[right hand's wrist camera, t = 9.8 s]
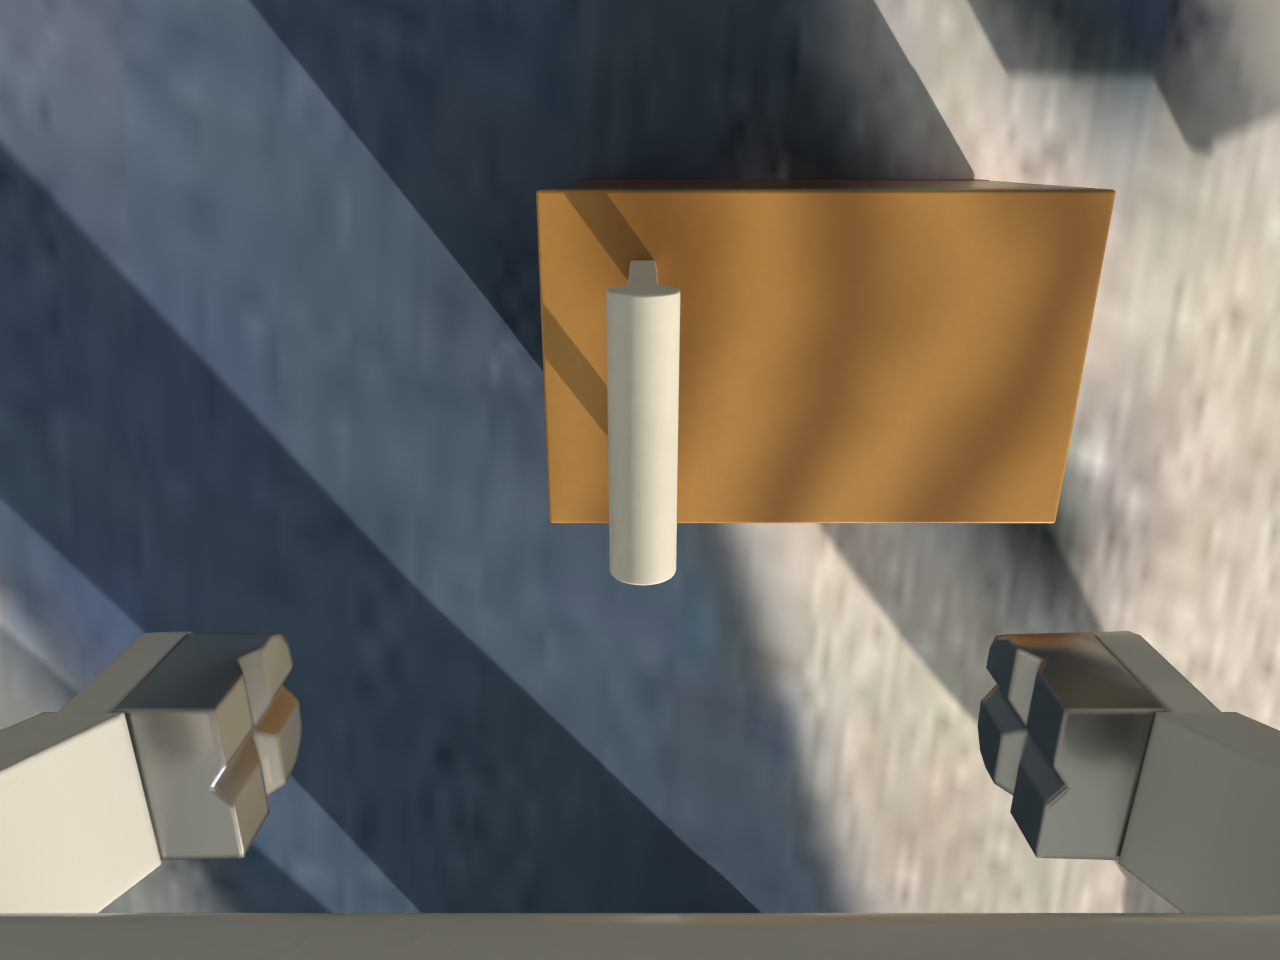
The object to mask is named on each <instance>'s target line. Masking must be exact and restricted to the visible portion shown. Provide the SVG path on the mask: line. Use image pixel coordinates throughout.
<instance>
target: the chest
mask: <svg viewBox="0 0 1280 960" xmlns="http://www.w3.org/2000/svg"><path fill="white" fill-rule="evenodd" d="M563 189H1095V188H1082V187H1068V186H1055V185H1041V184H1027V183H1013V182H999V181H989V180H579V182H577V183H575V184H573V185H570V186H568V187H565V188H563Z"/></svg>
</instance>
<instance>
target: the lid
mask: <svg viewBox="0 0 1280 960" xmlns="http://www.w3.org/2000/svg"><path fill="white" fill-rule="evenodd" d="M1114 198H1115V191H1114V190H1110V189H540V190H538V191H537V192H536V204H537V228H538V253H539V278H540V302H541V327H542V352H543V376H544V401H545V426H546V450H547V475H548V500H549V520H550V522H551V523H609V540H610V572H611V574H612V575H613V576H614V577H615V578H616V579H618V580H619V581H622V582H625V583H629V584H634V585H652V584H657V583H661V582H664V581H666V580H668V579H670V578H671V577H672V576H673V575H674V574H675V571H676V533H677V523H1054V522H1055V520H1056V514H1057V509H1058V503H1059V498H1060V492H1061V487H1062V481H1063V476H1064V470H1065V465H1066V459H1067V454H1068V449H1069V443H1070V438H1071V432H1072V427H1073V421H1074V416H1075V410H1076V405H1077V399H1078V394H1079V389H1080V383H1081V378H1082V372H1083V367H1084V361H1085V356H1086V350H1087V345H1088V339H1089V334H1090V329H1091V323H1092V318H1093V312H1094V307H1095V301H1096V296H1097V290H1098V285H1099V279H1100V274H1101V269H1102V263H1103V258H1104V252H1105V247H1106V241H1107V236H1108V230H1109V225H1110V219H1111V214H1112V209H1113V203H1114Z"/></svg>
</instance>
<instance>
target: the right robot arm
mask: <svg viewBox="0 0 1280 960" xmlns="http://www.w3.org/2000/svg"><path fill="white" fill-rule="evenodd" d="M293 668H294V667H293V662H292V657H291V652H290V647H289V642H288V641H287V640H286V639H285V638H284V637H283V636H282V635H281V634H267V633H215V632H195V633H193V632H190V631H183V632H151V633H145V634H141V635H140V636H139V637H138V638H137V639H136V640H135V641H134V642H133V643H131V644H130V645H129V646H128V647H127V648H126V649H125V650H124V651H123V652H122V653H121V654H120V655H119V656H118V657H117V658H116V659H115V660H113V661H112V662H111V663H110V664H109V665H108V666H107V667H106V668H105V669H104V670H103V671H102V672H101V673H100V674H99V675H98V676H97V677H95V678H94V679H93V680H92V681H91V682H90V683H89V684H88V685H87V686H86V687H85V688H84V689H83V690H82V691H81V692H80V693H78V694H77V695H76V696H75V697H74V698H73V699H72V700H71V701H70V702H69V703H68V704H67V705H66V706H65V707H64V708H63V709H62V710H60V711H59V712H43V713H41V714H39V715H36V716H34V717H32V718H29V719H27V720H25V721H22V722H20V723H18V724H15V725H13V726H11V727H8V728H6V729H3V730H1V731H0V960H1280V731H1279V730H1276V729H1274V728H1272V727H1269V726H1267V725H1265V724H1262V723H1260V722H1258V721H1255V720H1253V719H1251V718H1248V717H1246V716H1244V715H1241V714H1239V713H1237V712H1221V711H1220V710H1219V709H1217V708H1216V707H1215V706H1214V705H1213V704H1212V703H1211V702H1210V701H1209V700H1208V699H1207V698H1206V697H1205V696H1204V695H1203V694H1202V693H1201V692H1200V691H1198V690H1197V689H1196V688H1195V687H1194V686H1193V685H1192V684H1191V683H1190V682H1189V681H1188V680H1187V679H1186V678H1185V677H1184V676H1183V675H1182V674H1180V673H1179V672H1178V671H1177V670H1176V669H1175V668H1174V667H1173V666H1172V665H1171V664H1170V663H1169V662H1168V661H1167V660H1166V659H1165V658H1164V657H1163V656H1161V655H1160V654H1159V653H1158V652H1157V651H1156V650H1155V649H1154V648H1153V647H1152V646H1151V645H1150V644H1149V643H1148V642H1147V641H1146V640H1145V639H1144V638H1142V637H1141V636H1140V635H1138V634H1135V633H1132V632H1129V631H1118V632H1093V633H1092V632H1087V633H1047V634H1007V635H997V636H995V638H994V641H993V643H992V645H991V647H990V650H989V656H988V661H987V667H986V668H987V669H988V671H989V672H990V674H991V675H992V677H993V678H994V680H995V682H996V683H997V685H996V686H995V687H994V688H993V689H992V690H991V691H990V692H989V693H988V694H987V695H986V696H985V697H984V698H983V699H982V700H981V705H980V713H979V721H978V733H979V743H980V751H981V754H982V758H983V761H984V764H985V767H986V769H987V771H988V773H989V775H990V776H991V778H992V780H993V782H994V784H996V785H997V786H999V787H1001V788H1002V789H1004V790H1005V791H1007V792H1008V793H1010V794H1011V795H1013V800H1012V806H1011V814H1012V816H1013V817H1014V819H1015V821H1016V823H1017V824H1018V826H1019V828H1020V830H1021V831H1022V833H1023V835H1024V837H1025V838H1026V840H1027V842H1028V843H1029V845H1030V847H1031V849H1032V850H1033V852H1034V854H1035V856H1036V857H1037V858H1064V859H1101V860H1119V863H1118V864H1120V865H1121V866H1122V867H1123V868H1125V869H1126V870H1127V871H1129V872H1130V873H1131V874H1133V875H1134V876H1135V877H1136V878H1138V879H1139V880H1140V881H1142V882H1143V883H1144V884H1146V885H1147V886H1148V887H1149V888H1151V889H1152V890H1153V891H1155V892H1156V893H1157V894H1159V895H1160V896H1161V897H1162V898H1164V899H1165V900H1166V901H1168V902H1169V903H1170V904H1172V905H1173V906H1174V907H1175V908H1177V909H1178V910H1179V911H1181V912H1182V913H98V912H100V911H101V910H102V909H103V908H105V907H106V906H107V905H109V904H110V903H111V902H113V901H114V900H115V899H117V898H118V897H119V896H120V895H122V894H123V893H124V892H126V891H127V890H128V889H130V888H131V887H132V886H133V885H135V884H136V883H137V882H139V881H140V880H141V879H143V878H144V877H145V876H146V875H148V874H149V873H150V872H152V871H153V870H154V869H156V868H157V867H158V866H160V865H161V860H179V859H214V858H244V856H245V854H246V852H247V851H248V849H249V847H250V845H251V844H252V842H253V840H254V838H255V837H256V835H257V833H258V831H259V830H260V828H261V826H262V824H263V823H264V821H265V819H266V817H267V816H268V814H269V806H268V800H267V795H269V794H270V793H272V792H273V791H275V790H276V789H278V788H279V787H281V786H283V785H284V784H286V782H287V780H288V778H289V776H290V775H291V773H292V771H293V769H294V767H295V765H296V761H297V757H298V753H299V748H300V744H301V739H302V717H301V711H300V704H299V700H298V699H297V698H296V697H295V696H294V695H293V694H292V693H291V692H290V691H289V690H288V689H287V688H286V687H285V686H284V685H283V683H284V682H285V680H286V678H287V677H288V675H289V674H290V672H291V671H292V669H293Z"/></svg>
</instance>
